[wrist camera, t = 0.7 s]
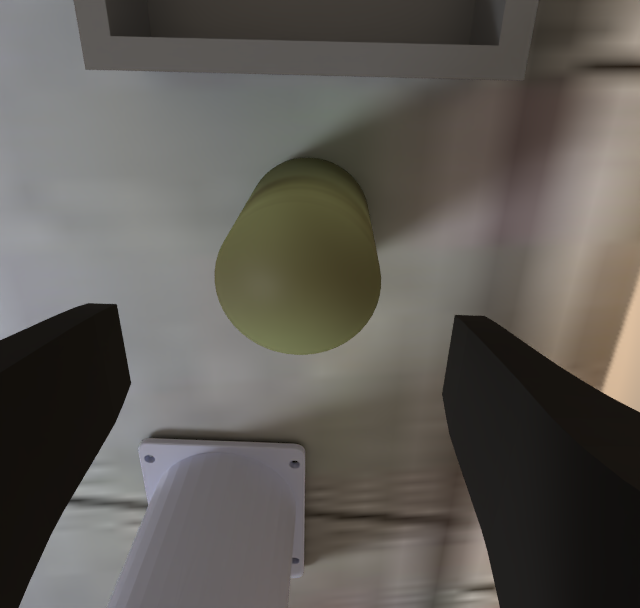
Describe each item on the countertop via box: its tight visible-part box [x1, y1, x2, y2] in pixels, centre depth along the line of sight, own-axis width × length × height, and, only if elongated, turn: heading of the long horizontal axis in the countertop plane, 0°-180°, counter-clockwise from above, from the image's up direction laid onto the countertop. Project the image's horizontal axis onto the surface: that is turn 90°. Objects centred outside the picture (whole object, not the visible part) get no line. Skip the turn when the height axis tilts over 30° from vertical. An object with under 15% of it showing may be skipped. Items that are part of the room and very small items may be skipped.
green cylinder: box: [215, 158, 381, 355], centre depth 17 cm, size 5×5×6 cm
